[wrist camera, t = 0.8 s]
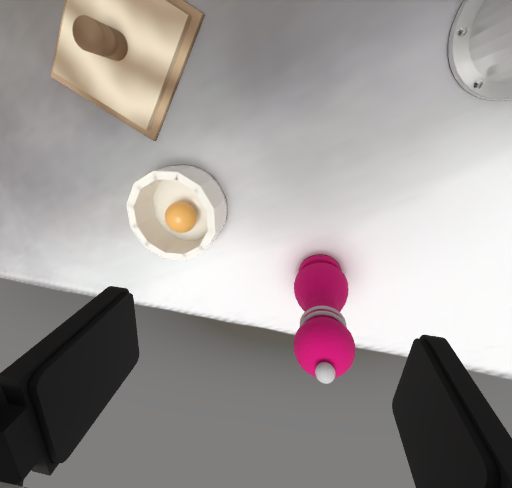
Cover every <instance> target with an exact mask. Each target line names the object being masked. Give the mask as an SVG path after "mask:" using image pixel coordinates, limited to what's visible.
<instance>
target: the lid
mask: <svg viewBox="0 0 512 488" xmlns="http://www.w3.org/2000/svg"><path fill="white" fill-rule="evenodd" d="M191 19H192V18H191V17H190V16H189V15H188V14H186V13H184V12H183V11H181V10H180V9H178V8H177V7H175V6H174V5H172V4H171V3H169V2H168V1H166V0H67V3H66V8H65V13H64V18H63V23H62V27H61V32H60V37H59V42H58V47H57V52H56V57H55V62H54V67H53V72H54V73H55V74H57V75H59V76H60V77H62V78H63V79H65V80H67V81H68V82H70V83H71V84H73V85H75V86H76V87H78V88H79V89H81V90H83V91H84V92H86V93H87V94H89V95H91V96H92V97H94V98H95V99H97V100H99V101H100V102H102V103H103V104H105V105H106V106H108V107H110V108H111V109H113V110H114V111H116V112H118V113H119V114H121V115H122V116H124V117H126V118H127V119H129V120H130V121H132V122H134V123H135V124H137V125H138V126H140V127H142V128H143V129H145V130H150V129H151V126H152V124H153V121H154V118H155V116H156V113H157V110H158V108H159V105H160V102H161V100H162V97H163V94H164V91H165V89H166V86H167V83H168V81H169V78H170V75H171V73H172V70H173V67H174V65H175V62H176V59H177V57H178V54H179V51H180V48H181V46H182V43H183V40H184V38H185V35H186V32H187V30H188V27H189V24H190V22H191Z"/></svg>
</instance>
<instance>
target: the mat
mask: <svg viewBox="0 0 512 488" xmlns="http://www.w3.org/2000/svg"><path fill="white" fill-rule="evenodd" d="M166 1H168V2H169V3H171V4H172V5H174V6H175V7H177V8H178V9H180V10H181V11H183V12H184V13H186V14H188V15H189V16H190V17H191V18H192V19H191V22H190V24H189V27H188V30H187V32H186V35H185V38H184V40H183V43H182V46H181V48H180V51H179V54H178V57H177V59H176V62H175V65H174V67H173V70H172V73H171V75H170V78H169V81H168V83H167V86H166V89H165V91H164V94H163V97H162V100H161V102H160V105H159V108H158V110H157V113H156V116H155V118H154V121H153V124H152V126H151V129H150V130H145V129H143V128H142V127H140V126H138V125H137V124H135V123H134V122H132V121H130V120H129V119H127V118H126V117H124V116H122V115H121V114H119V113H118V112H116V111H114V110H113V109H111V108H110V107H108V106H106V105H105V104H103V103H102V102H100V101H99V100H97V99H95V98H94V97H92V96H91V95H89V94H87V93H86V92H84V91H83V90H81V89H79V88H78V87H76V86H75V85H73V84H71V83H70V82H68V81H67V80H65V79H63V78H62V77H60V76H59V75H57V74H55V73H54V72H53V67H54V62H55V57H56V52H57V47H58V42H59V37H60V32H61V27H62V23H63V18H64V13H65V8H66V3H67V0H66V2H65V7H64V12H63V17H62V22H61V27H60V31H59V36H58V41H57V46H56V51H55V56H54V61H53V66H52V71H51V77H52V78H54V79H56V80H57V81H59V82H60V83H62V84H64V85H65V86H67V87H68V88H70V89H72V90H73V91H75V92H76V93H78V94H80V95H81V96H83V97H84V98H86V99H88V100H89V101H91V102H92V103H94V104H96V105H97V106H99V107H100V108H102V109H104V110H105V111H107V112H108V113H110V114H112V115H113V116H115V117H116V118H118V119H120V120H121V121H123V122H124V123H126V124H128V125H129V126H131V127H132V128H134V129H136V130H137V131H139V132H140V133H142V134H144V135H145V136H147V137H148V138H150V139H152V140H153V141H156V140H157V137H158V134H159V132H160V129H161V127H162V124H163V122H164V119H165V116H166V114H167V111H168V109H169V106H170V103H171V101H172V98H173V96H174V93H175V91H176V88H177V85H178V83H179V80H180V78H181V75H182V72H183V70H184V67H185V65H186V62H187V60H188V57H189V54H190V52H191V49H192V47H193V44H194V42H195V39H196V36H197V34H198V31H199V29H200V26H201V23H202V21H203V18H204V16H205V15H204V14H203V13H201V12H200V11H198V10H197V9H195V8H194V7H192V6H191V5H189V4H188V3H186V2H185V1H183V0H166Z"/></svg>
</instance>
